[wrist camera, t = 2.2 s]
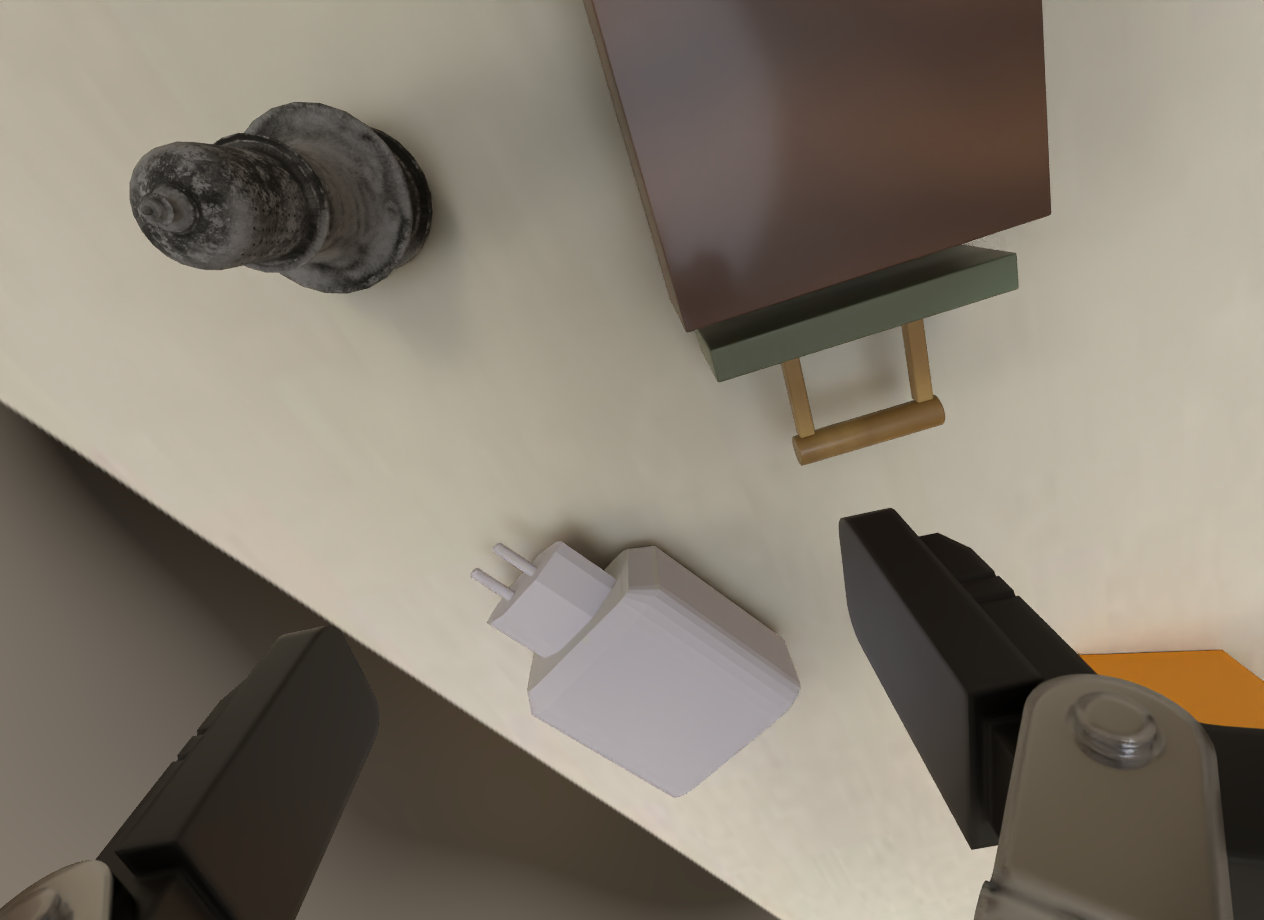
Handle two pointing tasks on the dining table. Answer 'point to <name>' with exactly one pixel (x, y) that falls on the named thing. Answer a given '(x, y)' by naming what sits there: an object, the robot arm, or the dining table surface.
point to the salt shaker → (288, 200)
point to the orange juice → (1193, 683)
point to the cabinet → (822, 136)
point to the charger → (643, 661)
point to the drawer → (855, 315)
